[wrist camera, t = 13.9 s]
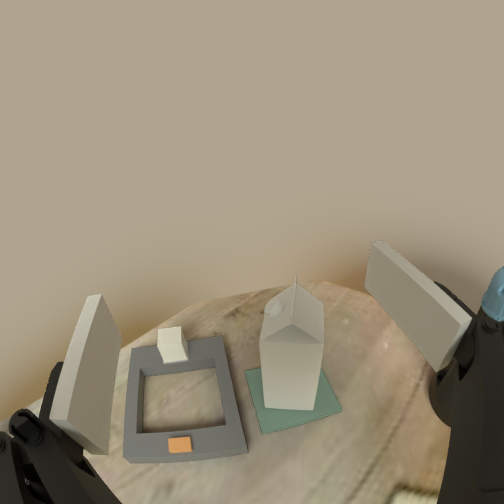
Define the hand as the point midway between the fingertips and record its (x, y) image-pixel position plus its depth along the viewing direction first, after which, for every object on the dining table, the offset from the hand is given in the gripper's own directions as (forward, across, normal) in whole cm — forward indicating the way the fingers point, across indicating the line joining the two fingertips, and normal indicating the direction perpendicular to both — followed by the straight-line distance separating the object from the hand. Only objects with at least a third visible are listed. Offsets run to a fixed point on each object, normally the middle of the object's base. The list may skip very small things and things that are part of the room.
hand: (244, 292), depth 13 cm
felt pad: (+12, +6, -30) cm, 34 cm away
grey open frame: (+14, -11, -30) cm, 35 cm away
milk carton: (+12, +6, -30) cm, 33 cm away
